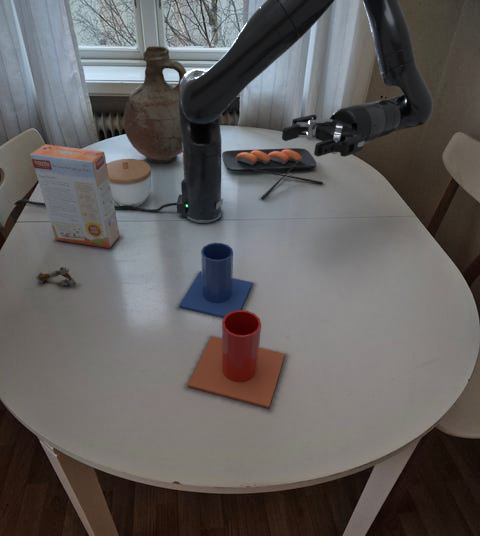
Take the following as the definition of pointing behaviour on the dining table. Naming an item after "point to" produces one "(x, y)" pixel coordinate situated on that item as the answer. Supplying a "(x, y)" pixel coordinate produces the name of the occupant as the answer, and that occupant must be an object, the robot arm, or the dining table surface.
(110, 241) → the cracker box
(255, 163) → the sushi plate
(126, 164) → the lidded bowl
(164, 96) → the jug
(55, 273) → the chicken wing bone
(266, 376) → the terracotta mat
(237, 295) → the blue mat
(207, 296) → the blue cup
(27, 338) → the dining table surface
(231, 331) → the red cup
